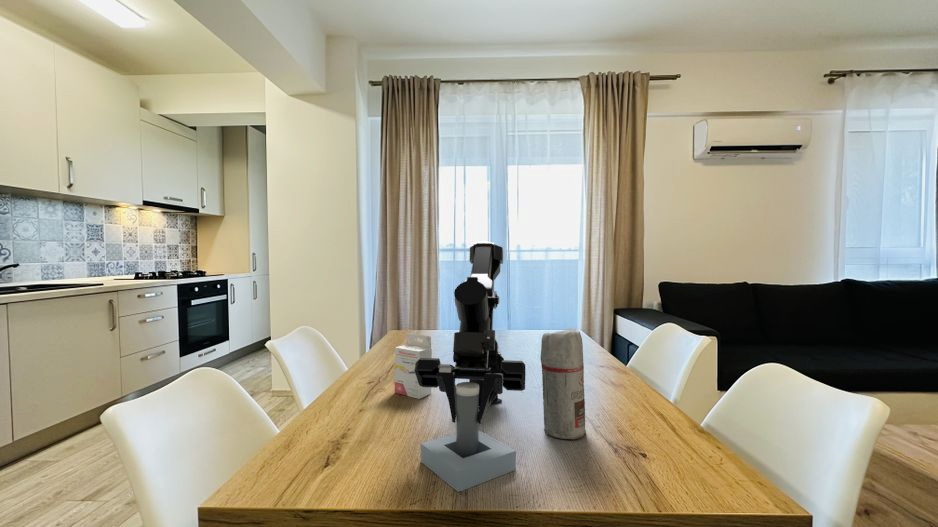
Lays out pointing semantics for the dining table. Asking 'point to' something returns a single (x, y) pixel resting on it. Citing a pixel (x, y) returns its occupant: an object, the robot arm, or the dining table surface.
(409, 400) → the dining table surface
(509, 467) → the socket
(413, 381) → the ink cartridge box
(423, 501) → the dining table surface
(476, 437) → the peg
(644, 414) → the dining table surface
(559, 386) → the spray can
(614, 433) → the dining table surface
